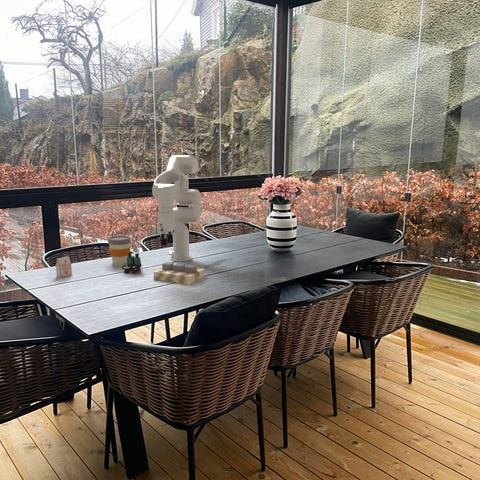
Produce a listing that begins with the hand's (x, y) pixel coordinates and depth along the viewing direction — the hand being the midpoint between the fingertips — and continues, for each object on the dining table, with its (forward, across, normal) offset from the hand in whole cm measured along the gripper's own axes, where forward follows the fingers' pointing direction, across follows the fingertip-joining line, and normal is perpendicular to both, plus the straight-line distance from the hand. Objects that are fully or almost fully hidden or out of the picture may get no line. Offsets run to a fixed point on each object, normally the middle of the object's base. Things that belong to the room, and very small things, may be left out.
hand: (167, 244), depth 252 cm
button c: (+14, 0, +14) cm, 20 cm away
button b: (+14, 0, +7) cm, 16 cm away
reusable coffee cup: (+18, -12, -41) cm, 46 cm away
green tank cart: (+18, +2, -22) cm, 28 cm away
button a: (+14, 0, 0) cm, 14 cm away
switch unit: (+17, 0, +7) cm, 19 cm away
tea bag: (+18, +22, -51) cm, 58 cm away
